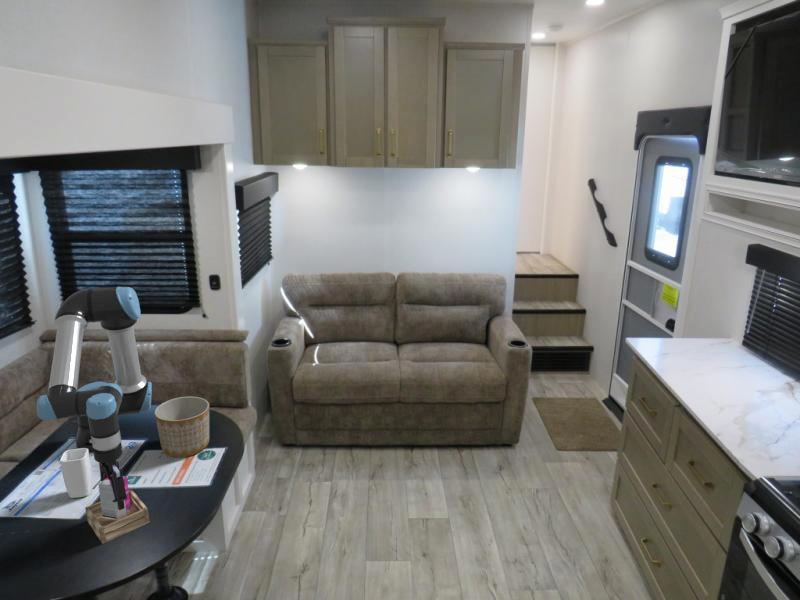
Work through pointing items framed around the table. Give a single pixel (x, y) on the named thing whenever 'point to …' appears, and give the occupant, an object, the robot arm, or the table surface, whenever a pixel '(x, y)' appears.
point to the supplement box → (111, 498)
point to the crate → (117, 527)
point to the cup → (76, 472)
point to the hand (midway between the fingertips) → (116, 510)
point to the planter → (183, 425)
